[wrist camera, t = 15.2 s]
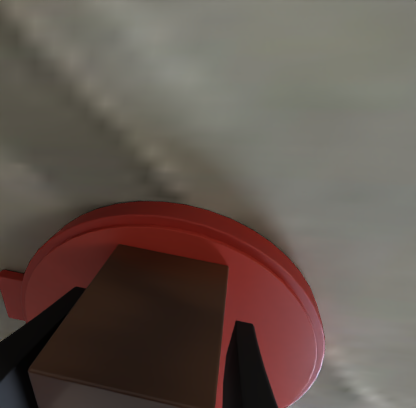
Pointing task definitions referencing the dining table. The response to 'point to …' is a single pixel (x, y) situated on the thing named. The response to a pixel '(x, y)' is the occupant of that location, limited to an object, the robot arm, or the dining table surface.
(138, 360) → the walnut block
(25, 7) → the dining table surface
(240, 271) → the red lid
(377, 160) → the dining table surface
